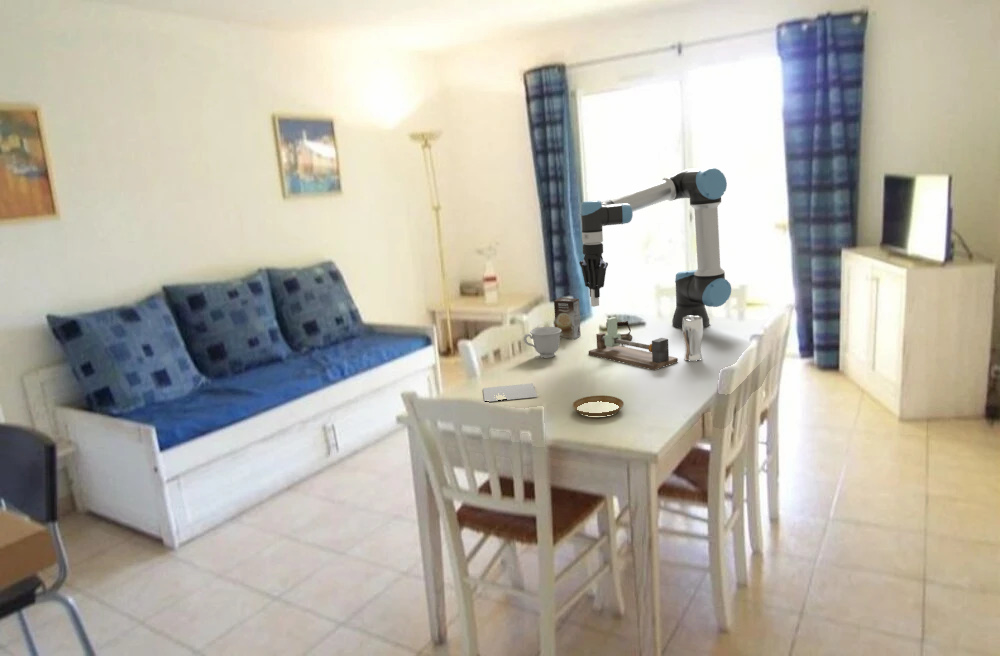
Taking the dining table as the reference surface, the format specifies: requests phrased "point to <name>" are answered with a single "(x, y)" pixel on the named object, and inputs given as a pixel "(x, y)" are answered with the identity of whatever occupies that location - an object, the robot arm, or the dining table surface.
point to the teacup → (545, 340)
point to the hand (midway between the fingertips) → (595, 305)
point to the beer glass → (692, 337)
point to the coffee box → (567, 317)
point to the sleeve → (611, 333)
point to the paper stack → (510, 392)
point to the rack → (635, 352)
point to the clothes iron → (624, 336)
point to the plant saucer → (599, 398)
